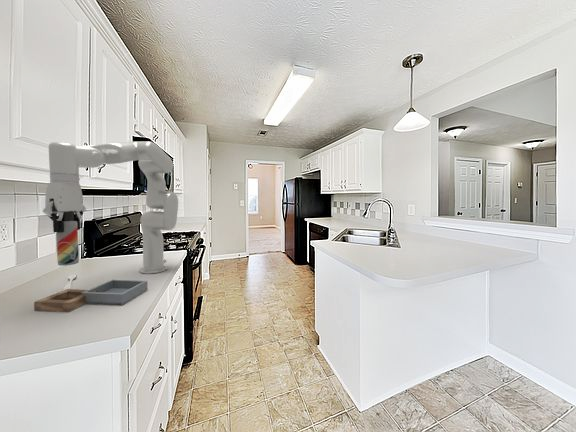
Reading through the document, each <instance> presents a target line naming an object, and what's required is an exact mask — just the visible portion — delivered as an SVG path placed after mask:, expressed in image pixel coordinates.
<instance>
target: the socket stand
mask: <svg viewBox="0 0 576 432" xmlns="http://www.w3.org/2000/svg"><path fill="white" fill-rule="evenodd" d="M87 290H88V289H79V288H77V289H73V288H71V289H66V290H61V291H59V292H56V293H53V294H50V295H49V296H48V295H47V296H46V297H43V298H41V299H38V300H35V301H34V302H33V303H34V304H33V305H34V306H33V307H34V308H33V309H34V311H37V312H56V313H57V312H60V313H64V312H65V313H70V312H72V311H74V310H77V309H78V308H80V307H82V306H84V305H85V306H86V305H87V304H86V296H82V294H81V293H82V292H85V291H87ZM94 292H98V290H96V291H94Z"/></svg>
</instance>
